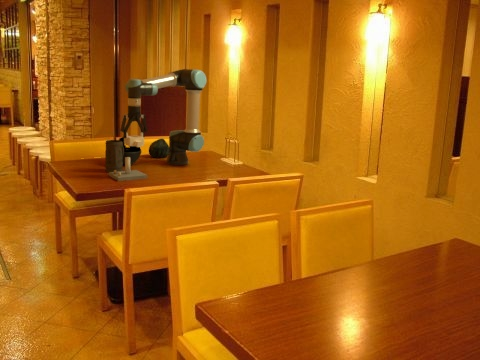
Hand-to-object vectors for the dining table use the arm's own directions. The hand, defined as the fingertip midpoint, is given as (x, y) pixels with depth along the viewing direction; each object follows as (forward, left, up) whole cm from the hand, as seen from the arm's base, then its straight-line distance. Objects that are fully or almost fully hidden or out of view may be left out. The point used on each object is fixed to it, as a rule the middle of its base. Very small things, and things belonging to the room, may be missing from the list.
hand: (134, 143), depth 298 cm
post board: (+4, 0, -20) cm, 21 cm away
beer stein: (+4, -20, -21) cm, 29 cm away
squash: (-41, -51, -21) cm, 69 cm away
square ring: (0, +2, -1) cm, 2 cm away
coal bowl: (-9, -35, -21) cm, 42 cm away
